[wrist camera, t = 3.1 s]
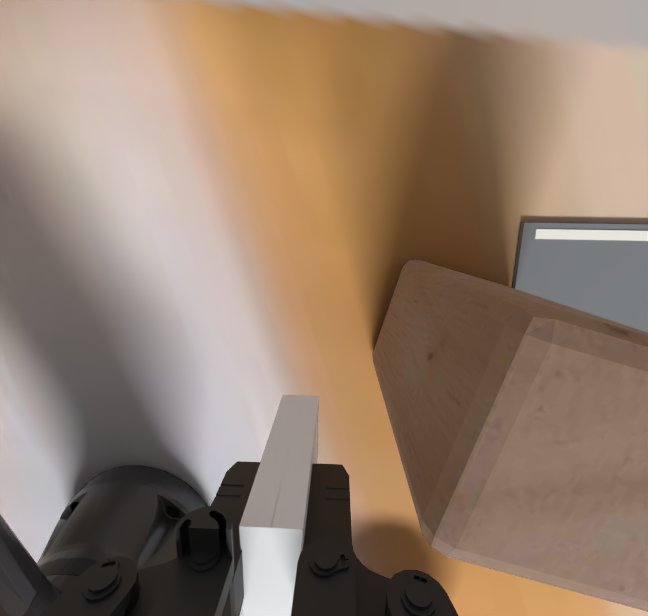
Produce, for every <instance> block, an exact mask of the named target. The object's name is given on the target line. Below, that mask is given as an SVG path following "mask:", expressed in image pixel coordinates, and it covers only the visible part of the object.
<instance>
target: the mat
mask: <svg viewBox="0 0 648 616" xmlns="http://www.w3.org/2000/svg"><path fill="white" fill-rule="evenodd" d="M512 288H514V289H517V290H520V291H523V292H526V293H529V294H532V295H535V296H538V297H541V298H544V299H548V300H551V301H554V302H557V303H560V304H563V305H566V306H569V307H572V308H575V309H578V310H581V311H584V312H587V313H590V314H593V315H596V316H599V317H602V318H605V319H608V320H611V321H614V322H617V323H620V324H623V325H626V326H629V327H632V328H635V329H638V330H642V331H645V332H648V224H586V223H521V227H520V234H519V242H518V249H517V256H516V263H515V271H514V278H513V285H512Z"/></svg>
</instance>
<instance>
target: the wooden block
mask: <svg viewBox="0 0 648 616" xmlns="http://www.w3.org/2000/svg"><path fill="white" fill-rule="evenodd" d="M373 363H374V366H375V370H376V373H377V377H378V380H379V384H380V387H381V391H382V394H383V398H384V401H385V405H386V408H387V412H388V415H389V419H390V422H391V426H392V429H393V433H394V436H395V440H396V443H397V447H398V450H399V454H400V457H401V461H402V464H403V468H404V471H405V474H406V478H407V481H408V485H409V488H410V492H411V495H412V499H413V502H414V506H415V509H416V513H417V516H418V520H419V523H420V527H421V530H422V534H423V536H424V537H425V539H426V540H427V541H428V543H429V544H430V546H431V547H433V548H434V549H435V550H437V551H438V552H440V553H441V554H443V555H444V556H446V557H449V558H453V559H457V560H460V561H464V562H468V563H471V564H475V565H479V566H482V567H486V568H490V569H493V570H497V571H501V572H504V573H508V574H512V575H515V576H519V577H523V578H526V579H530V580H534V581H537V582H541V583H545V584H548V585H552V586H556V587H559V588H563V589H567V590H570V591H574V592H578V593H581V594H585V595H589V596H592V597H596V598H600V599H603V600H607V601H611V602H614V603H618V604H622V605H625V606H629V607H633V608H636V609H640V610H644V611H648V332H645V331H642V330H638V329H635V328H632V327H629V326H626V325H623V324H620V323H617V322H614V321H611V320H608V319H605V318H602V317H599V316H596V315H593V314H590V313H587V312H584V311H581V310H578V309H575V308H572V307H569V306H566V305H563V304H560V303H557V302H554V301H551V300H548V299H544V298H541V297H538V296H535V295H532V294H529V293H526V292H523V291H520V290H517V289H514V288H511V287H508V286H505V285H501V284H498V283H495V282H491V281H488V280H485V279H481V278H478V277H475V276H472V275H468V274H465V273H462V272H458V271H455V270H452V269H448V268H445V267H442V266H438V265H435V264H432V263H428V262H425V261H422V260H418V259H416V260H408V262H407V263H406V264H405V265H404V266H403V267H402V270H401V273H400V276H399V279H398V282H397V285H396V288H395V290H394V293H393V296H392V299H391V302H390V305H389V308H388V311H387V314H386V317H385V319H384V322H383V325H382V328H381V331H380V334H379V337H378V340H377V343H376V345H375V348H374V351H373Z"/></svg>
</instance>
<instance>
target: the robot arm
mask: <svg viewBox="0 0 648 616" xmlns="http://www.w3.org/2000/svg"><path fill="white" fill-rule="evenodd" d="M318 405H319V396H300V395H283V396H282V399H281V402H280V405H279V408H278V411H277V414H276V417H275V420H274V423H273V426H272V429H271V432H270V435H269V438H268V441H267V444H266V447H265V450H264V453H263V456H262V459H261V462H237V463H235V464H234V465H233V466H232V467H231V468H230V469H229V470H228V471H227V472H226V474H225V477H224V479H223V481H222V483H221V487H219V490H218V492H217V494H216V497H215V498H214V501H213V503H212V505H211V506H208V507H207V506H206V504H205V503H204V501H203V500H202V499H201V497H200V496H199V495H198V494H197V493H196V492H195V491H194V490H193V489H192V488H191V487H190V486H189V485H187V484H186V483H185V482H183V481H182V480H180V479H178V478H177V477H175V476H173V475H171V474H169V473H166V472H164V471H161V470H158V469H154V468H149V467H142V466H125V467H119V468H114V469H111V470H108V471H105V472H103V473H101V474H99V475H97V476H96V477H94V478H93V479H92V480H90V481H89V482H88V483H87V484H86V485H85V486H84V487H83V488H82V489H81V490H80V491H79V492H78V493H77V494H76V496H75V497H74V498H73V499H72V500H71V501H70V502H69V504H68V505H67V507H66V508H65V510H64V511H63V513H62V515H61V517H60V520H59V521H58V523H57V525H56V527H55V529H54V531H53V533H52V535H51V537H50V539H49V541H48V543H47V545H46V547H45V549H44V551H43V553H42V555H41V557H40V559H39V561H38V563H36V562H35V561H34V559H33V558H32V557H31V555H30V554H29V553H28V551H27V550H26V549H25V547H24V546H23V544H22V543H21V542H20V540H19V539H18V538H17V536H16V535H15V534H14V532H13V531H12V530H11V528H10V527H9V525H8V524H7V523H6V521H5V520H4V519H3V517H2V516H1V515H0V616H239V615H240V611H241V607H242V603H243V616H458V614H457V612H456V610H455V608H454V606H453V604H452V603H451V601H450V599H449V597H448V595H447V593H446V592H445V590H444V589H443V588H442V586H441V585H440V584H439V582H437V581H436V580H435V579H433V578H432V577H431V576H429V575H428V574H426V573H423V572H420V571H418V570H404V571H401V572H399V573H396V574H395V575H394V576H393V578H392V579H389V578H386V577H384V576H381V575H378V574H376V573H374V572H372V571H370V570H369V569H367V568H366V567H365V566H364V565H362V564H361V562H360V561H359V560H358V558H357V557H356V555H355V553H354V551H353V547H352V536H351V512H350V491H349V489H350V488H349V475H348V473H347V472H346V470H345V468H344V467H343V465H337V464H317V457H318Z"/></svg>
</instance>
